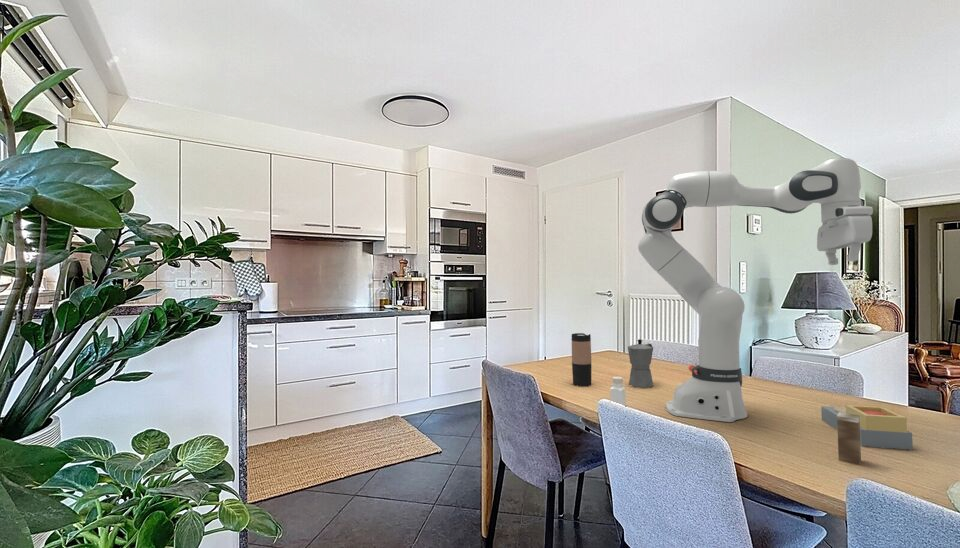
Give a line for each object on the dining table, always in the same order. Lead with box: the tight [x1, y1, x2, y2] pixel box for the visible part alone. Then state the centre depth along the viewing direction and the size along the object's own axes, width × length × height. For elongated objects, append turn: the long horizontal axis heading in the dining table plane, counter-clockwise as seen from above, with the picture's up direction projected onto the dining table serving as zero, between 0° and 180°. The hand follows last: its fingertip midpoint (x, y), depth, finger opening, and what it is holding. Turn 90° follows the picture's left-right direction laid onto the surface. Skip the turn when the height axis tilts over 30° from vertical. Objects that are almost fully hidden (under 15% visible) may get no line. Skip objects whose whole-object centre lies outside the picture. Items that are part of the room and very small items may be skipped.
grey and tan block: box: [820, 404, 914, 451], centre depth 112 cm, size 10×20×8 cm, turn 164°
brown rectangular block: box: [837, 412, 862, 466], centre depth 96 cm, size 4×4×10 cm
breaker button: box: [864, 411, 886, 416], centre depth 107 cm, size 4×4×5 cm
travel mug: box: [571, 332, 592, 387], centre depth 170 cm, size 8×8×20 cm
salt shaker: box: [609, 376, 627, 407], centre depth 140 cm, size 4×4×10 cm
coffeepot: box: [627, 338, 654, 389], centre depth 168 cm, size 15×9×18 cm, turn 128°
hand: (842, 263), depth 120 cm, fingers open, 8 cm apart
